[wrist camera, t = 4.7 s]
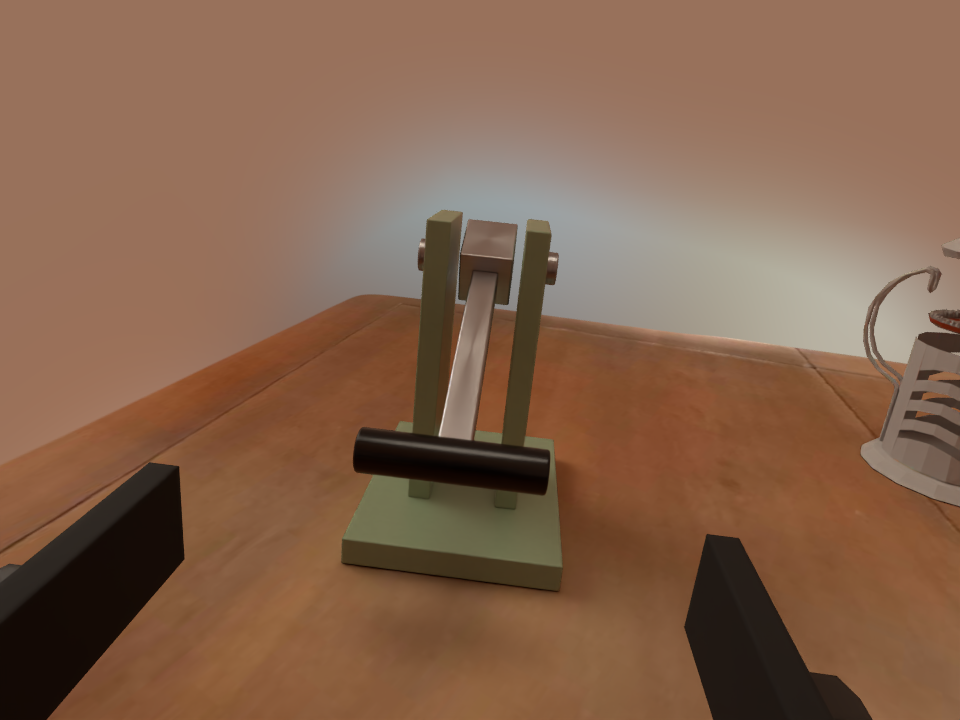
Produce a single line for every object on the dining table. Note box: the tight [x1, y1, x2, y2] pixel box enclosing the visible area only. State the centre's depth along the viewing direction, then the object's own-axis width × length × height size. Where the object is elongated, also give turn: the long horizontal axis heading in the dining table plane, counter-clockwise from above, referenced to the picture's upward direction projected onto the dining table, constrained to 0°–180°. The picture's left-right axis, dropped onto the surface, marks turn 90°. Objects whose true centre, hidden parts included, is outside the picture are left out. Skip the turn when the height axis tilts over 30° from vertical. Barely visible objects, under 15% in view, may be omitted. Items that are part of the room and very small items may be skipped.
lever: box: [353, 219, 551, 496], centre depth 24 cm, size 13×6×2 cm, turn 176°
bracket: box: [341, 210, 563, 591], centre depth 30 cm, size 12×9×14 cm
